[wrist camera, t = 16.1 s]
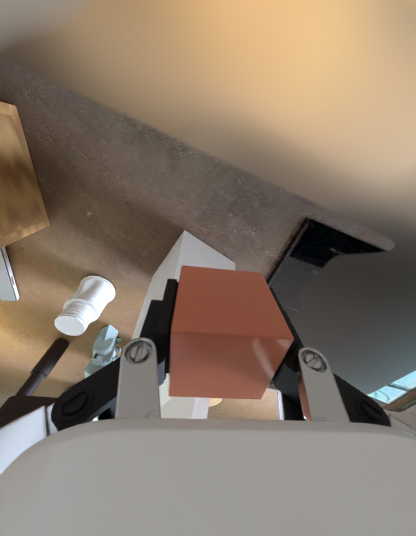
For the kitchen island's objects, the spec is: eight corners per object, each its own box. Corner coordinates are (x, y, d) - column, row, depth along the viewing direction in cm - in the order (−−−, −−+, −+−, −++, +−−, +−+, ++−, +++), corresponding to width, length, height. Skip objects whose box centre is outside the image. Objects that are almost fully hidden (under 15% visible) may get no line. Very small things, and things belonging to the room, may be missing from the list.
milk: (199, 301, 43) (196, 466, 20) (152, 276, 39) (84, 443, 17) (234, 262, 38) (280, 422, 15) (184, 229, 34) (150, 376, 12)
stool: (-94, 427, 25) (164, 447, 30) (31, 311, 43) (179, 336, 48) (-49, 468, 32) (151, 477, 37) (42, 354, 50) (168, 372, 56)
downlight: (120, 302, 42) (99, 340, 33) (89, 304, 42) (60, 343, 34) (108, 271, 38) (80, 306, 29) (73, 274, 38) (35, 309, 30)
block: (181, 264, 11) (170, 330, 7) (261, 272, 11) (295, 338, 7) (177, 322, 13) (167, 397, 9) (243, 327, 13) (261, 400, 10)
